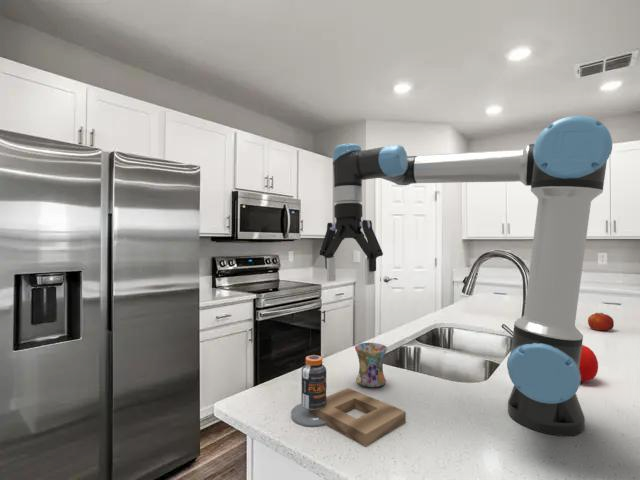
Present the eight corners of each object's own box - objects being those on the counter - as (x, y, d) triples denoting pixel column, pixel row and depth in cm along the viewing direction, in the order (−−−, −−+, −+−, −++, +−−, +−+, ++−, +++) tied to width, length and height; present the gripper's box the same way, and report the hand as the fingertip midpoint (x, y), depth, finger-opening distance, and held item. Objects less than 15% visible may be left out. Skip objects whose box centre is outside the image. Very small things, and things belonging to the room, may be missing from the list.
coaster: (346, 415, 86) (346, 412, 86) (311, 432, 78) (311, 429, 78) (315, 400, 94) (315, 397, 94) (281, 414, 86) (281, 411, 86)
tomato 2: (582, 328, 167) (582, 310, 167) (600, 327, 168) (600, 310, 168) (600, 333, 158) (600, 315, 158) (619, 332, 159) (619, 314, 159)
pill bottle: (308, 412, 82) (307, 363, 82) (297, 402, 87) (297, 355, 87) (330, 406, 85) (330, 358, 85) (319, 397, 90) (318, 351, 90)
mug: (393, 386, 102) (393, 349, 102) (365, 392, 98) (364, 353, 98) (371, 372, 113) (371, 338, 113) (345, 377, 110) (345, 342, 109)
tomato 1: (600, 379, 107) (600, 342, 107) (596, 390, 99) (595, 351, 99) (558, 370, 114) (558, 336, 114) (551, 380, 106) (551, 343, 106)
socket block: (405, 422, 82) (405, 411, 82) (365, 446, 73) (365, 434, 73) (348, 397, 95) (348, 387, 95) (308, 414, 86) (308, 404, 86)
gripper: (395, 200, 90) (397, 284, 90) (324, 208, 108) (326, 278, 108) (377, 197, 85) (379, 287, 85) (306, 206, 103) (307, 280, 102)
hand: (349, 282), depth 96 cm, fingers open, 13 cm apart
